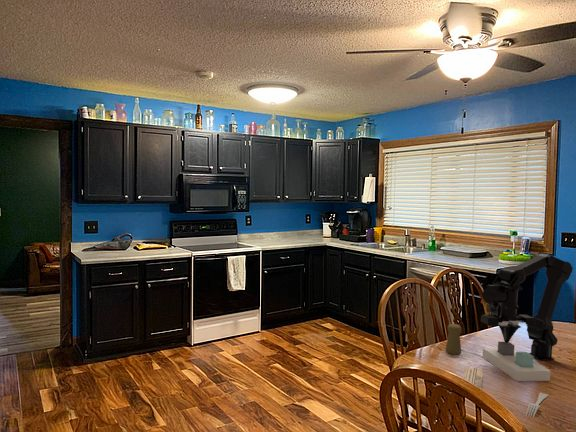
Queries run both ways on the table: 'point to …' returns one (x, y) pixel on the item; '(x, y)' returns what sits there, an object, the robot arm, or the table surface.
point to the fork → (540, 398)
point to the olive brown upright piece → (453, 339)
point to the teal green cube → (524, 359)
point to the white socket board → (516, 366)
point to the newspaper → (473, 376)
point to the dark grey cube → (506, 348)
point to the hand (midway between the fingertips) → (506, 342)
